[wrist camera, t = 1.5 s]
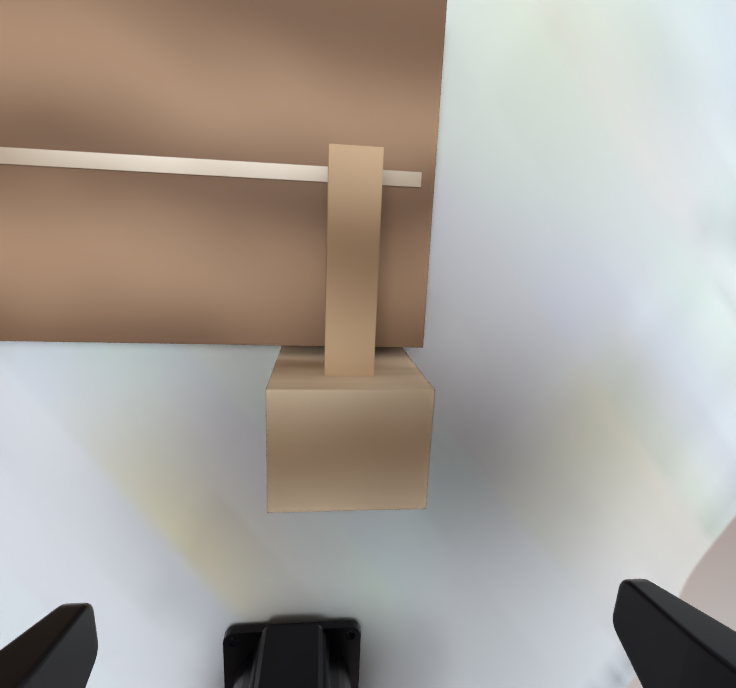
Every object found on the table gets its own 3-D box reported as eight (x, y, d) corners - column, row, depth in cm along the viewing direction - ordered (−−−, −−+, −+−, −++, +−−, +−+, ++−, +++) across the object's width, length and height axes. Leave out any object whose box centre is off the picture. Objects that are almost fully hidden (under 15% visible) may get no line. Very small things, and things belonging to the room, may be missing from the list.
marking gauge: (395, 431, 20) (425, 508, 14) (283, 431, 20) (267, 512, 14) (409, 173, 18) (454, 140, 12) (282, 165, 17) (263, 127, 11)
